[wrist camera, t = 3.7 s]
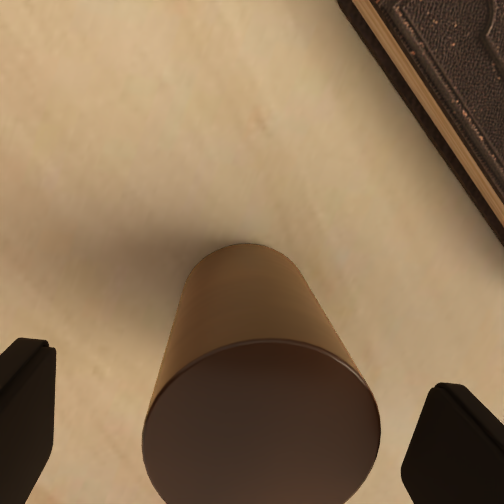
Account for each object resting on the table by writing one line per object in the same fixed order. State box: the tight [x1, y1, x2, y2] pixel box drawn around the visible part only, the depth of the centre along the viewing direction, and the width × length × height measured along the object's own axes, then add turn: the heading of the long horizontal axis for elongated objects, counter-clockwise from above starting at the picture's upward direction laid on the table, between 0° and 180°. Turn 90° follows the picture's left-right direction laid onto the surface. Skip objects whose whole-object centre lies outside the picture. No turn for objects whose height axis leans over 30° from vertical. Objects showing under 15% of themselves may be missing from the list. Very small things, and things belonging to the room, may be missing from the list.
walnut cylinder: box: [142, 244, 381, 504], centre depth 12 cm, size 6×6×8 cm
